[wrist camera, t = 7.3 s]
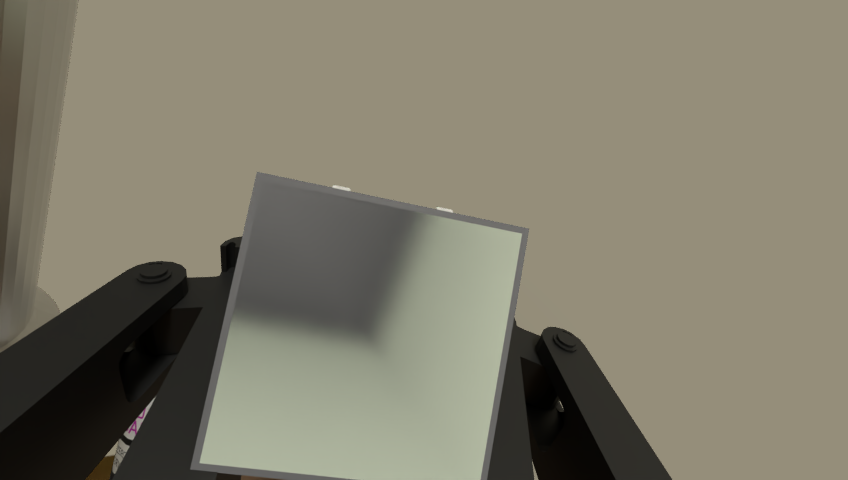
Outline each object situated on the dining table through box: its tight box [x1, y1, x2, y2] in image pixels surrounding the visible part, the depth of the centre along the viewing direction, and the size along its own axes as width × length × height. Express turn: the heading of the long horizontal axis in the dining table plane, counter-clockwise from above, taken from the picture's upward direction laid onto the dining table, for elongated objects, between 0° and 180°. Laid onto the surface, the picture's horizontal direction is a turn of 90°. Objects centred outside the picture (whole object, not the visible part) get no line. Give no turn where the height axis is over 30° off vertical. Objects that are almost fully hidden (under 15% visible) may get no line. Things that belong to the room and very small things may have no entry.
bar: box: [190, 172, 529, 480], centre depth 20 cm, size 30×4×4 cm, turn 7°
